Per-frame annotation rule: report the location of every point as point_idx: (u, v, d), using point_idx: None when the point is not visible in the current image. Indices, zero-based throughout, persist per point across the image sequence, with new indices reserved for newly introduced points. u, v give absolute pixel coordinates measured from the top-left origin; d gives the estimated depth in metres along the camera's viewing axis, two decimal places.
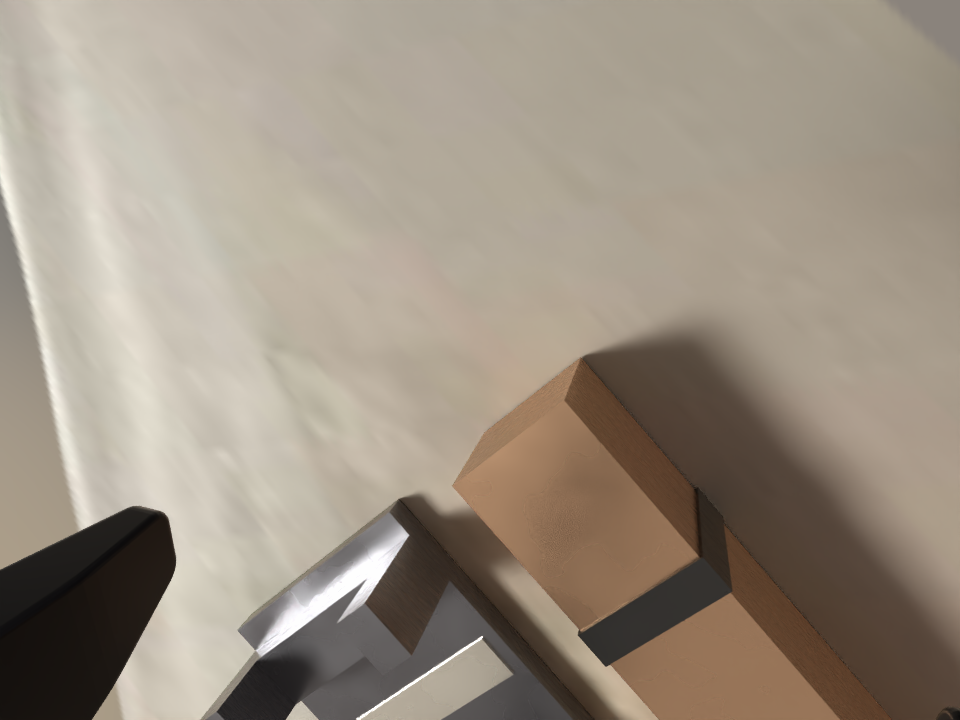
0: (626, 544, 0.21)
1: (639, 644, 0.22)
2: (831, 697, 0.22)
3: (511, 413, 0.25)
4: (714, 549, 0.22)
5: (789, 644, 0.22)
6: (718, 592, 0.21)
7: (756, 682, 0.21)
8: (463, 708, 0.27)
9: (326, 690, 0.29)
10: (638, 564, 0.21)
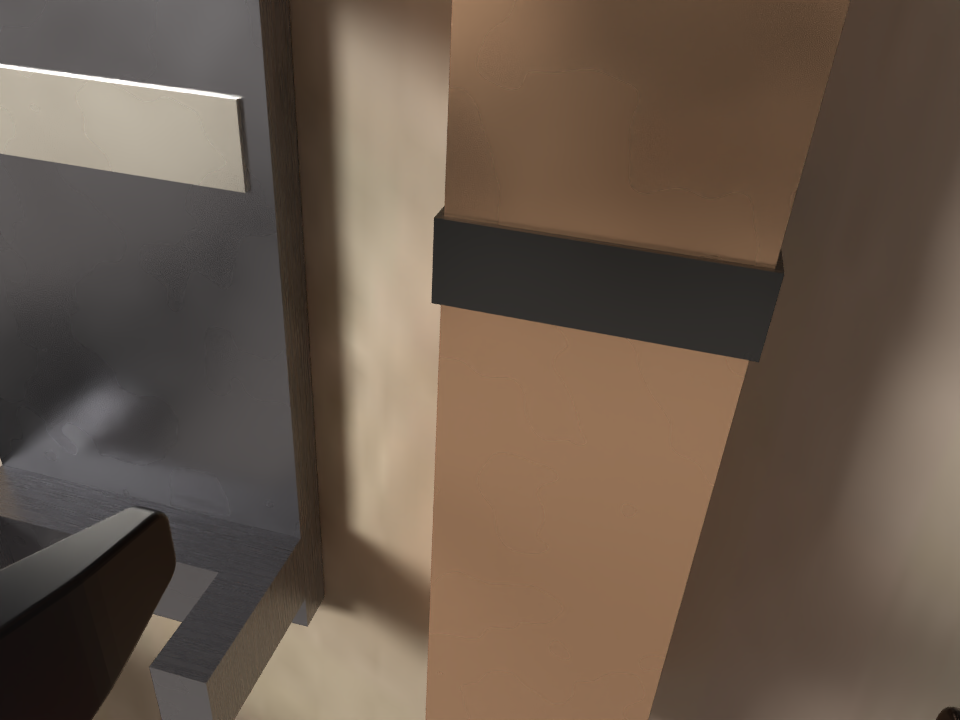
0: (683, 138, 0.09)
1: (518, 314, 0.10)
2: None
3: None
4: None
5: None
6: (732, 344, 0.10)
7: (629, 493, 0.11)
8: (126, 179, 0.15)
9: None
10: (663, 191, 0.09)
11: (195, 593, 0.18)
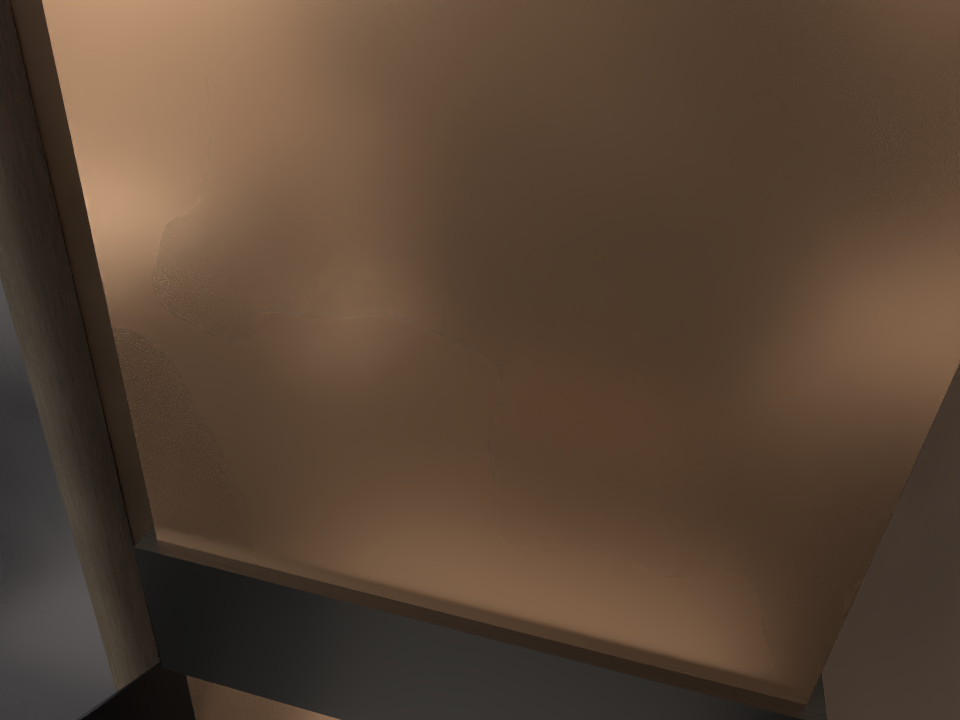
0: (604, 466, 0.04)
1: (319, 698, 0.06)
2: None
3: None
4: None
5: None
6: None
7: None
8: None
9: None
10: (568, 551, 0.04)
11: None
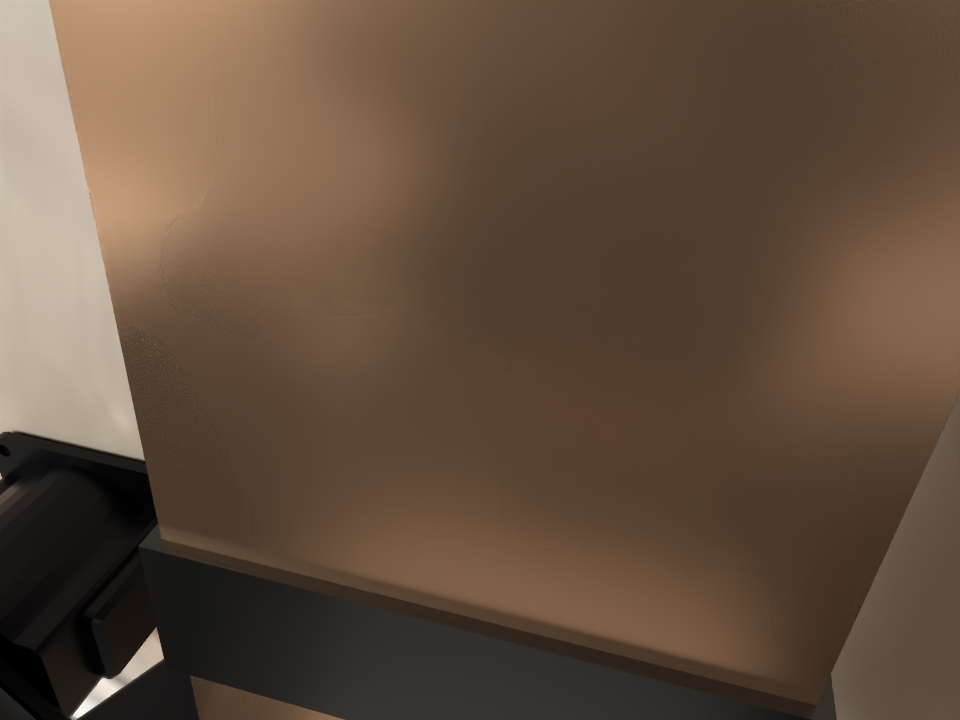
0: (613, 465, 0.04)
1: (324, 697, 0.06)
2: None
3: None
4: None
5: None
6: None
7: None
8: None
9: None
10: (576, 550, 0.04)
11: None
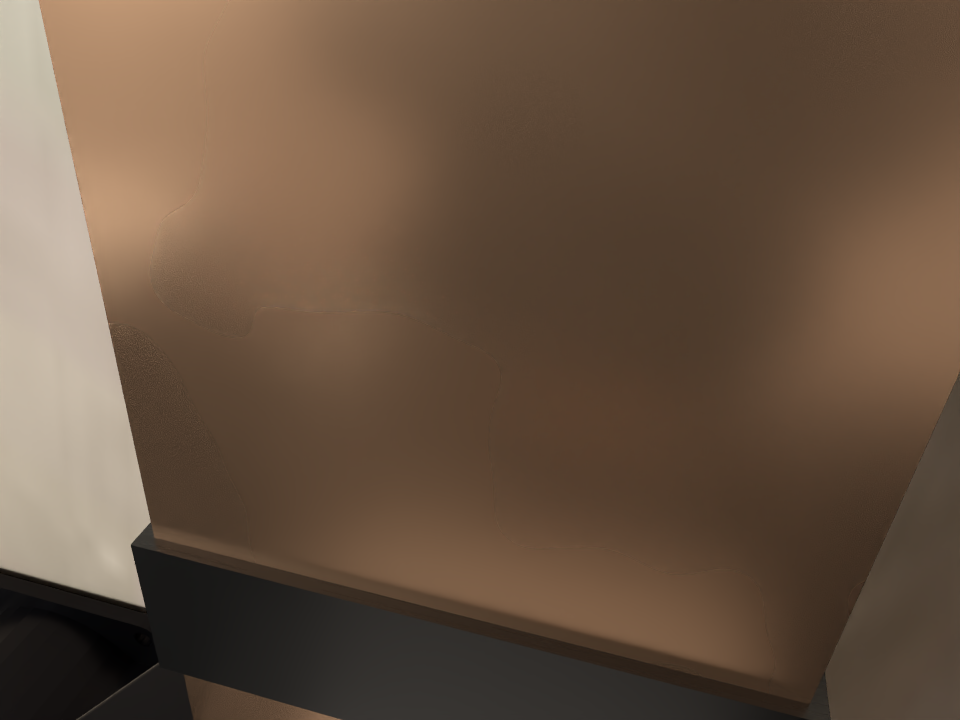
0: (606, 461, 0.04)
1: (319, 696, 0.06)
2: None
3: None
4: None
5: None
6: None
7: None
8: None
9: None
10: (569, 548, 0.04)
11: None
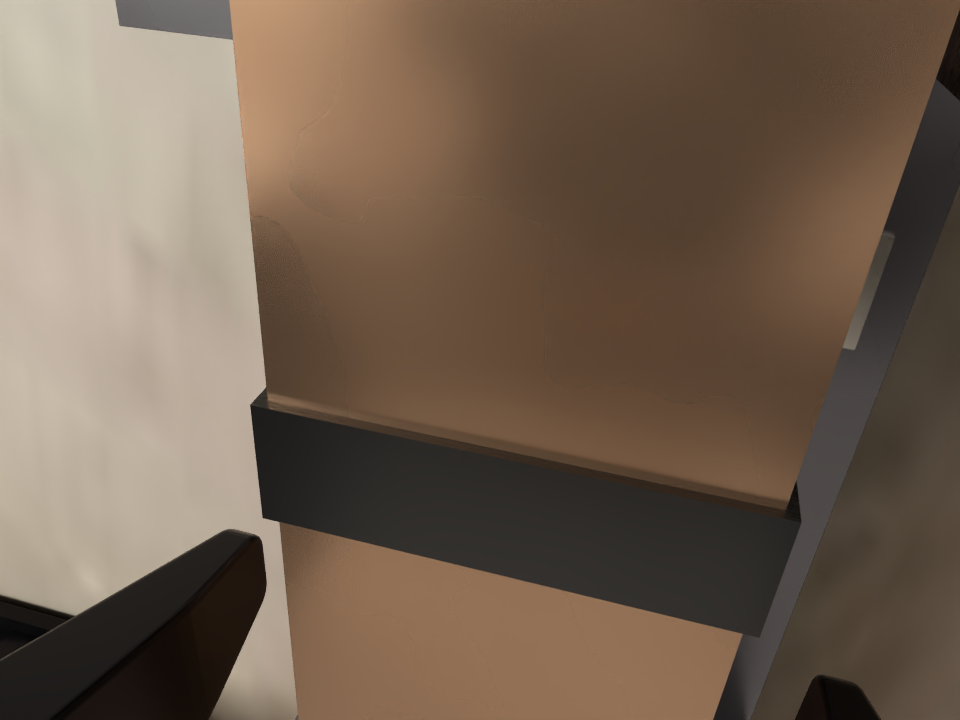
0: (630, 310, 0.05)
1: (392, 538, 0.07)
2: None
3: None
4: None
5: None
6: (718, 607, 0.06)
7: None
8: None
9: None
10: (601, 387, 0.06)
11: None
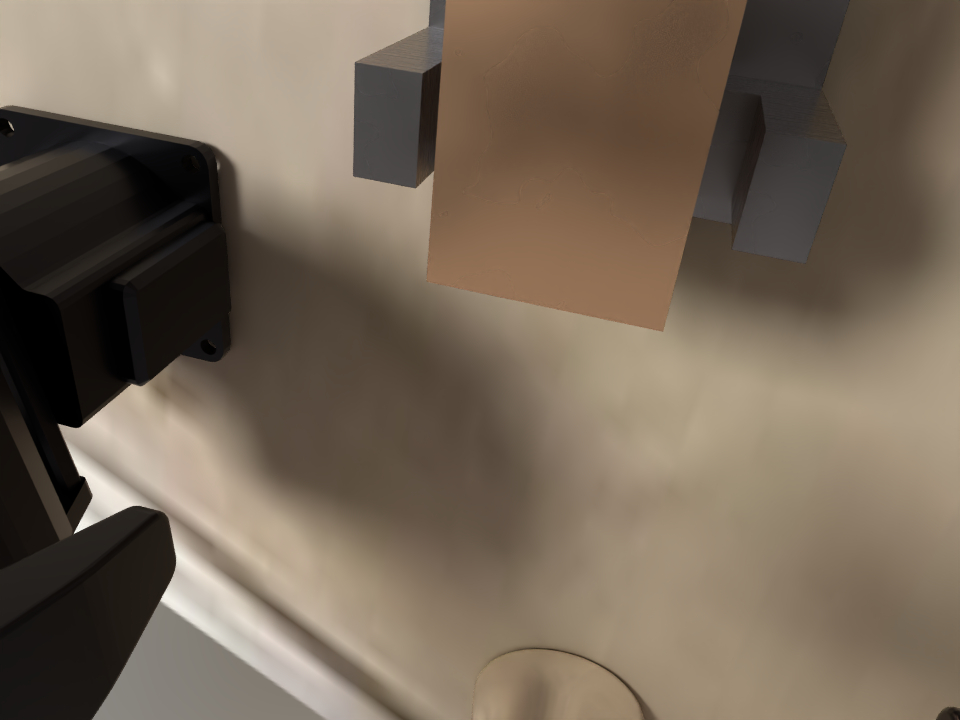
0: None
1: None
2: None
3: None
4: None
5: None
6: None
7: None
8: None
9: None
10: None
11: None
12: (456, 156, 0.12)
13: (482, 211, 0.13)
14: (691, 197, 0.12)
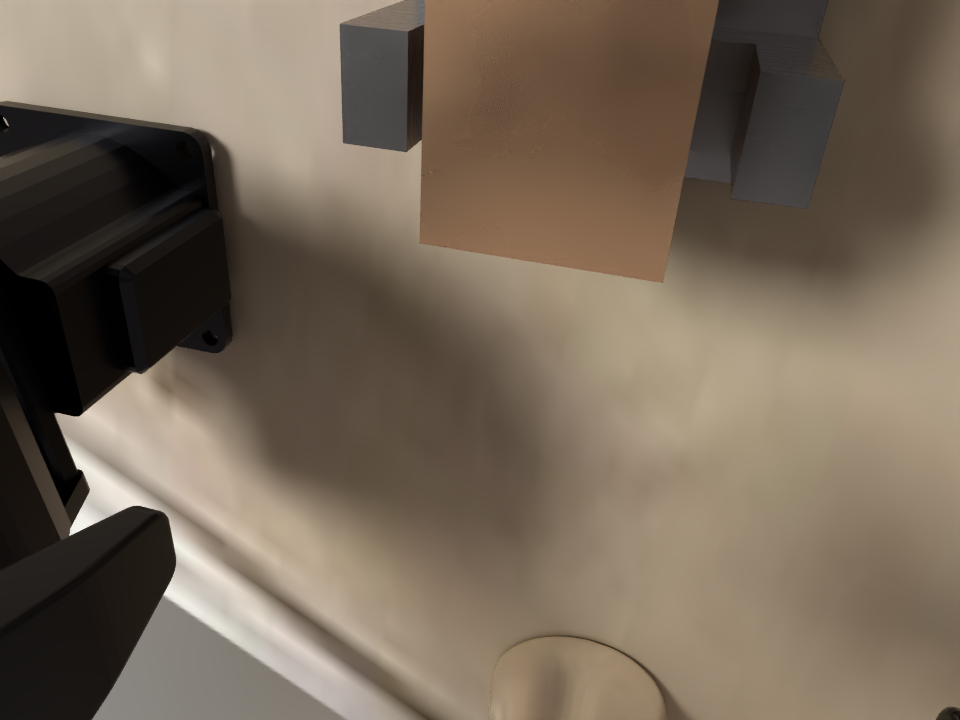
0: None
1: None
2: None
3: None
4: None
5: None
6: None
7: None
8: None
9: None
10: None
11: (705, 90, 0.15)
12: (444, 109, 0.12)
13: (473, 166, 0.12)
14: (685, 139, 0.11)
